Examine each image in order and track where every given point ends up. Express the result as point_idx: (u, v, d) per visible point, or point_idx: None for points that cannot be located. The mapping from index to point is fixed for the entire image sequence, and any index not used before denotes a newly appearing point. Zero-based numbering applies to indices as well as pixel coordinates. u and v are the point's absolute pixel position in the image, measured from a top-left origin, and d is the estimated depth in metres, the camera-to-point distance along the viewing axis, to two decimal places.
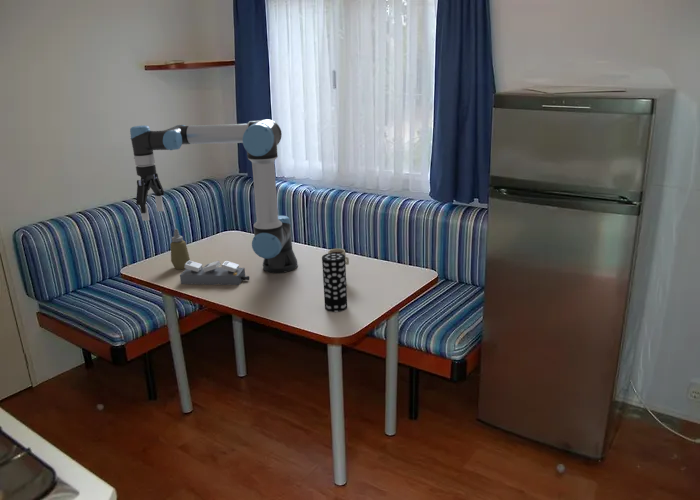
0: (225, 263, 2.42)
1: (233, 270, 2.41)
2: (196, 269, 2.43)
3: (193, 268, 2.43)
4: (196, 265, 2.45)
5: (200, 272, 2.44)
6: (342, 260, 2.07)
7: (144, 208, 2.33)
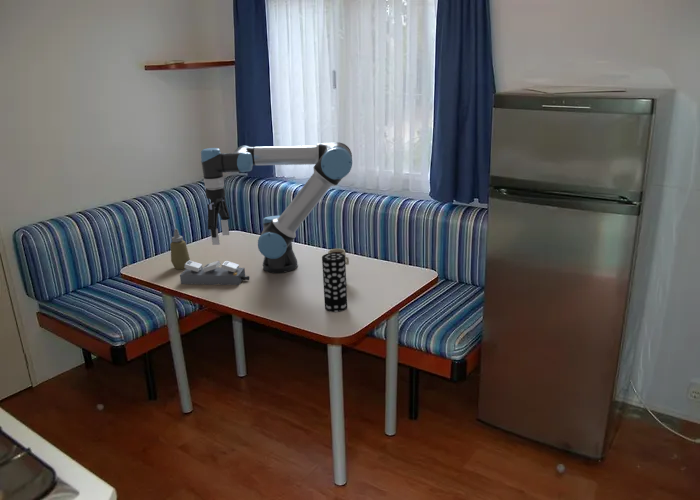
0: (225, 263, 2.42)
1: (233, 270, 2.41)
2: (196, 269, 2.43)
3: (193, 268, 2.43)
4: (196, 265, 2.45)
5: (200, 272, 2.44)
6: (342, 260, 2.07)
7: (215, 232, 2.31)
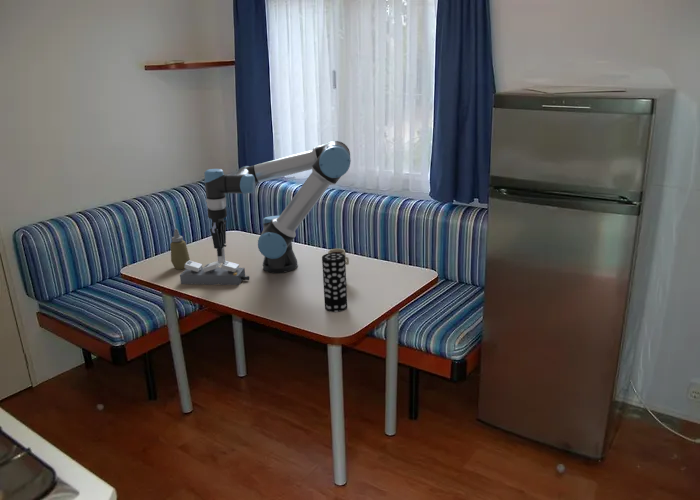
0: (225, 263, 2.42)
1: (233, 270, 2.41)
2: (196, 269, 2.43)
3: (193, 268, 2.43)
4: (196, 265, 2.45)
5: (200, 272, 2.44)
6: (342, 260, 2.07)
7: (221, 251, 2.40)
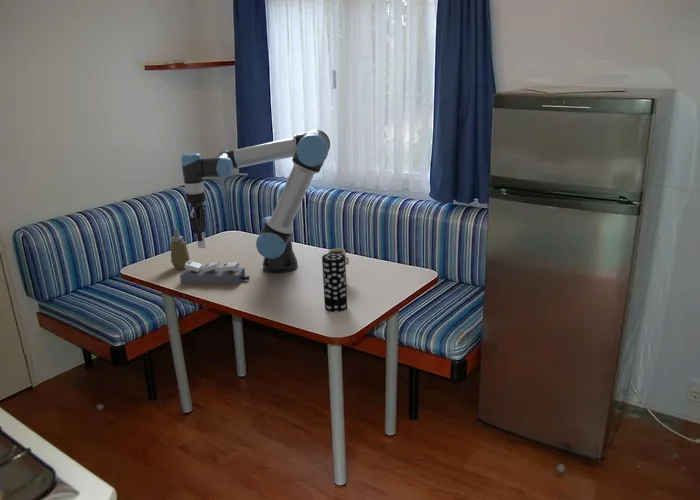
0: (224, 265, 2.42)
1: (233, 268, 2.40)
2: (196, 269, 2.43)
3: (193, 268, 2.43)
4: (196, 265, 2.45)
5: (200, 272, 2.44)
6: (342, 260, 2.07)
7: (200, 236, 2.39)
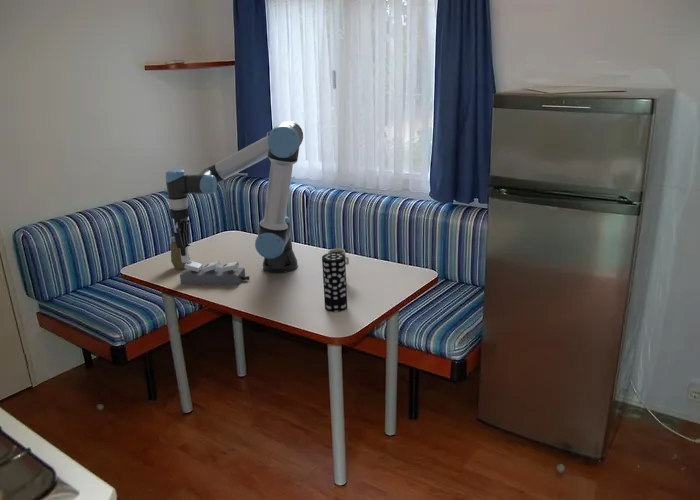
0: (224, 265, 2.42)
1: (233, 268, 2.40)
2: (196, 269, 2.43)
3: (193, 268, 2.43)
4: (196, 264, 2.45)
5: (200, 272, 2.44)
6: (342, 260, 2.07)
7: (184, 251, 2.42)
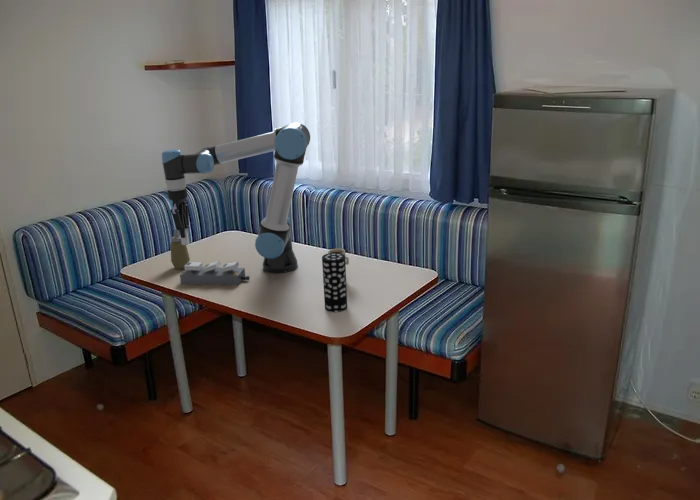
0: (224, 265, 2.42)
1: (233, 267, 2.40)
2: (196, 268, 2.43)
3: (193, 267, 2.43)
4: (196, 264, 2.45)
5: (200, 272, 2.44)
6: (342, 260, 2.07)
7: (184, 233, 2.39)
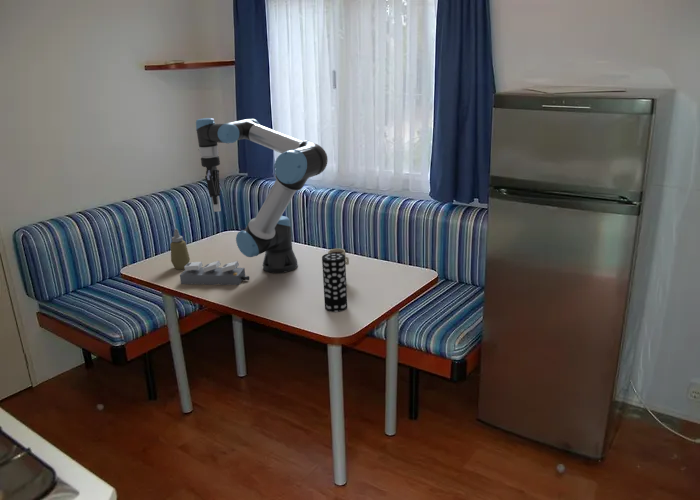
0: (224, 266, 2.42)
1: (233, 267, 2.40)
2: (196, 267, 2.43)
3: (193, 267, 2.43)
4: (195, 263, 2.45)
5: (200, 272, 2.44)
6: (342, 260, 2.07)
7: (216, 200, 2.47)
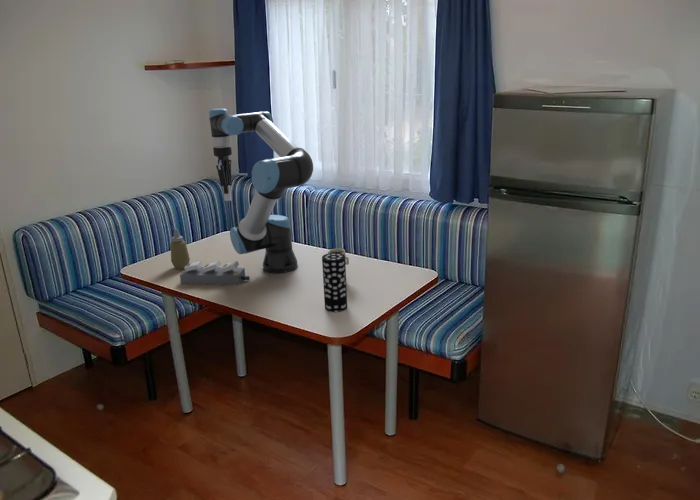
0: (224, 266, 2.43)
1: (233, 267, 2.40)
2: (196, 266, 2.42)
3: (193, 267, 2.43)
4: (195, 263, 2.45)
5: (200, 272, 2.44)
6: (342, 260, 2.07)
7: (227, 189, 2.51)
